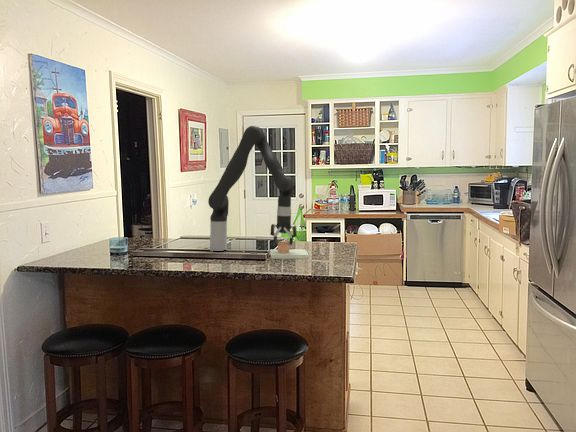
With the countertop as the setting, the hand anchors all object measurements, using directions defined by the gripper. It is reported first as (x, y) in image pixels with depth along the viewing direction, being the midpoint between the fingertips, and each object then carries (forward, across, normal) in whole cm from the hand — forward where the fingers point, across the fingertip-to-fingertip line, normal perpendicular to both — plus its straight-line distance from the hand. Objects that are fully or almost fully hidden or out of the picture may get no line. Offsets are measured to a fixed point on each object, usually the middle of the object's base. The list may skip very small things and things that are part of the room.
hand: (283, 243), depth 261 cm
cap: (+5, 0, 0) cm, 5 cm away
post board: (+7, +3, +2) cm, 7 cm away
